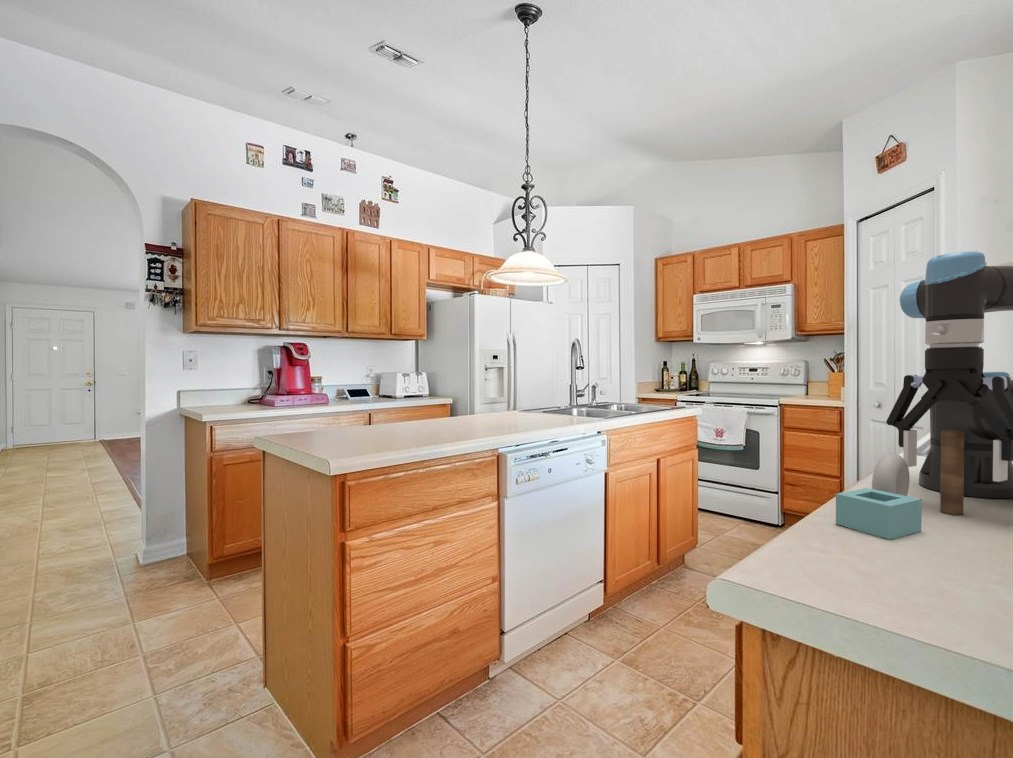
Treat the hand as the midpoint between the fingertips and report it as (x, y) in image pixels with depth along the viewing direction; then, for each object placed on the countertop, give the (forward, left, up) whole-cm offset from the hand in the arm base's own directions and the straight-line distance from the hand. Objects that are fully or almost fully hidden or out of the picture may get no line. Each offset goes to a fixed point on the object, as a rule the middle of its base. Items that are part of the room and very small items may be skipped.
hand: (952, 472), depth 87 cm
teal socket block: (+19, -1, -7) cm, 20 cm away
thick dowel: (0, 0, -7) cm, 7 cm away
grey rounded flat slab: (+7, -6, -7) cm, 11 cm away
